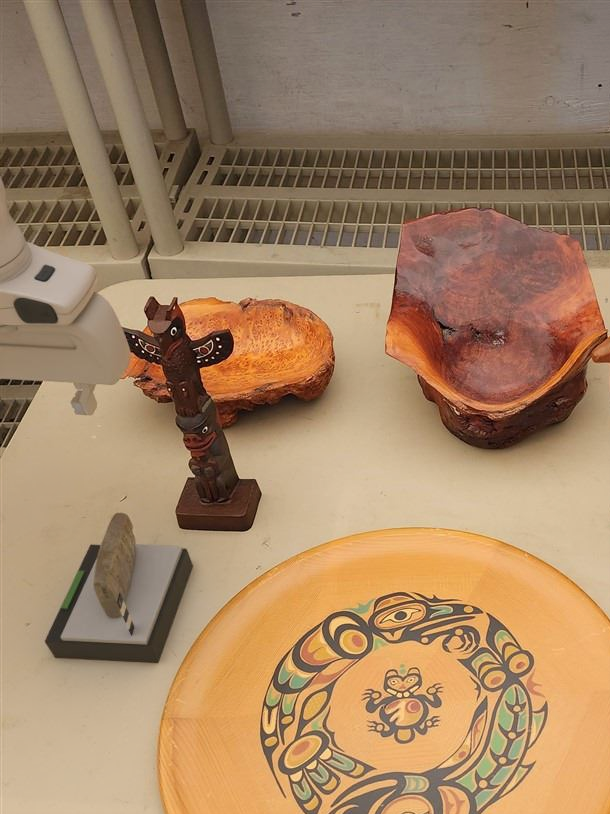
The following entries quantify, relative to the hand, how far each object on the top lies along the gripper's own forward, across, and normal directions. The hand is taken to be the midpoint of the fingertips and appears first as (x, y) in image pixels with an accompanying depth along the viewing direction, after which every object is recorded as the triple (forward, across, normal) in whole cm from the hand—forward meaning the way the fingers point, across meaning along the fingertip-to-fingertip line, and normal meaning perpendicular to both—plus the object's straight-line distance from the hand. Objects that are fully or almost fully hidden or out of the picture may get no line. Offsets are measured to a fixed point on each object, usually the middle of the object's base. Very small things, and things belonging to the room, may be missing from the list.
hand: (38, 408), depth 82 cm
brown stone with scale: (+19, +6, -7) cm, 21 cm away
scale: (+22, +5, -7) cm, 24 cm away
